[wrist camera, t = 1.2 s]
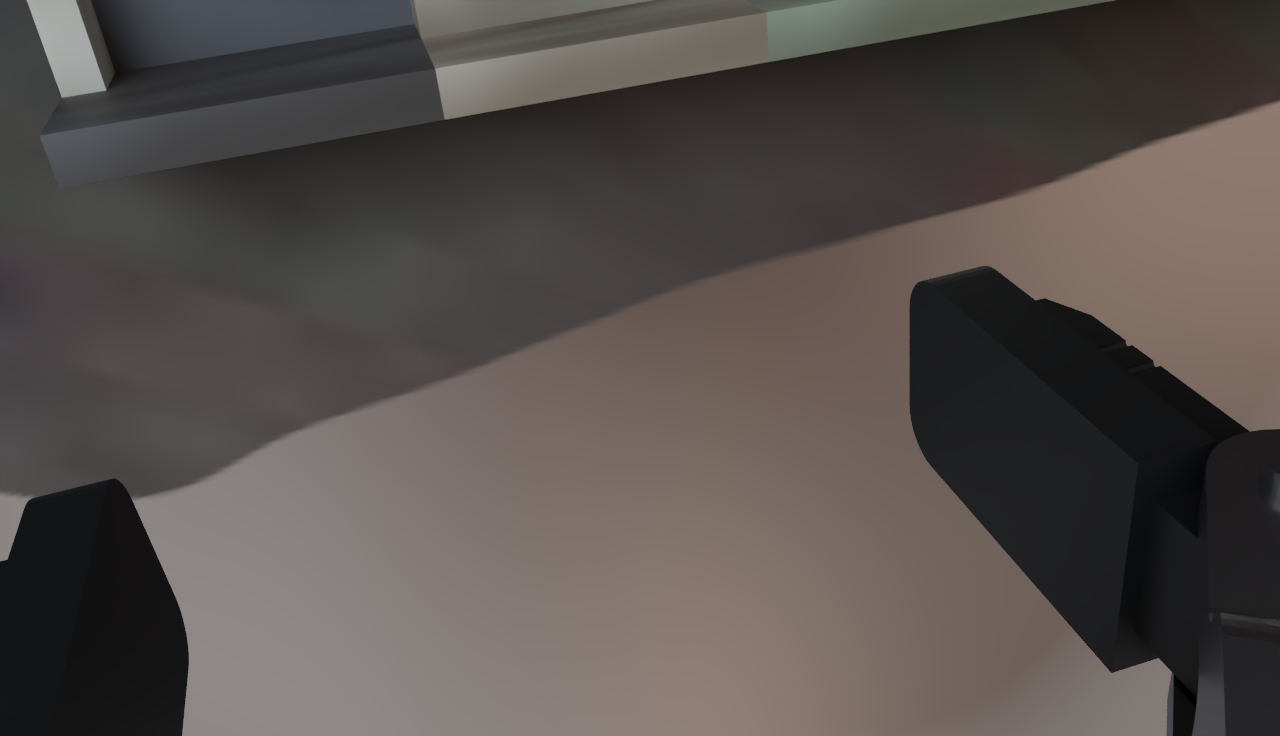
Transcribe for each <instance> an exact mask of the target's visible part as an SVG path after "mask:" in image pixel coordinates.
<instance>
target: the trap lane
mask: <svg viewBox="0 0 1280 736" xmlns="http://www.w3.org/2000/svg"><path fill="white" fill-rule="evenodd" d="M1108 1H1114V0H27V2H28V5H29V8H30V10H31V13H32V16H33V19H34V21H35V24H36V27H37V30H38V32H39V35H40V38H41V41H42V44H43V46H44V49H45V52H46V55H47V57H48V60H49V63H50V66H51V69H52V71H53V74H54V77H55V80H56V82H57V85H58V88H59V91H60V93H61V96H62V99H61V100H60V102H59V104H58V105H57V107H56V109H55V111H54V112H53V114H52V116H51V117H50V119H49V121H48V122H47V124H46V126H45V127H44V129H43V131H42V132H41V134H40V138H41V141H42V144H43V146H44V149H45V151H46V154H47V157H48V159H49V162H50V165H51V167H52V170H53V173H54V175H55V178H56V181H57V183H58V186H59V188H64V187H70V186H76V185H81V184H87V183H93V182H98V181H104V180H109V179H115V178H121V177H126V176H132V175H137V174H143V173H149V172H154V171H160V170H166V169H171V168H177V167H182V166H188V165H194V164H199V163H205V162H210V161H216V160H222V159H227V158H233V157H238V156H244V155H250V154H255V153H261V152H267V151H272V150H278V149H283V148H289V147H295V146H300V145H306V144H311V143H317V142H323V141H328V140H334V139H340V138H345V137H351V136H356V135H362V134H368V133H373V132H379V131H384V130H390V129H396V128H401V127H407V126H412V125H418V124H424V123H429V122H435V121H441V120H446V119H452V118H457V117H463V116H469V115H474V114H480V113H485V112H491V111H497V110H502V109H508V108H514V107H519V106H525V105H530V104H536V103H542V102H547V101H553V100H558V99H564V98H570V97H575V96H581V95H586V94H592V93H598V92H603V91H609V90H615V89H620V88H626V87H631V86H637V85H643V84H648V83H654V82H659V81H665V80H671V79H676V78H682V77H688V76H693V75H699V74H704V73H710V72H716V71H721V70H727V69H732V68H738V67H744V66H749V65H755V64H760V63H766V62H772V61H777V60H783V59H789V58H794V57H800V56H805V55H811V54H817V53H822V52H828V51H833V50H839V49H845V48H850V47H856V46H861V45H867V44H873V43H878V42H884V41H890V40H895V39H901V38H906V37H912V36H918V35H923V34H929V33H934V32H940V31H946V30H951V29H957V28H963V27H968V26H974V25H979V24H985V23H991V22H996V21H1002V20H1007V19H1013V18H1019V17H1024V16H1030V15H1035V14H1041V13H1047V12H1052V11H1058V10H1064V9H1069V8H1075V7H1080V6H1086V5H1092V4H1097V3H1103V2H1108Z"/></svg>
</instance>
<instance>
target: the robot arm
mask: <svg viewBox="0 0 1280 736" xmlns="http://www.w3.org/2000/svg"><path fill="white" fill-rule="evenodd" d="M910 414H911V421H912V426H913V430H914V433H915V436H916V439H917V442H918V444H919V447H920V449H921V451H922V453H923V455H924V457H925V458H926V460H927V461H928V463H929V464H930V465H931V466H932V468H933V469H934V470H935V471H936V472H937V473H938V474H939V476H940V477H941V478H942V479H943V480H944V481H945V482H946V484H947V485H948V486H949V487H950V488H951V489H952V490H953V492H954V493H955V494H956V495H957V496H958V497H959V499H960V500H961V501H962V502H963V503H964V504H965V505H966V506H967V508H968V509H969V510H970V511H971V512H972V513H973V514H974V516H975V517H976V518H977V519H978V520H979V521H980V522H981V524H982V525H983V526H984V527H985V528H986V530H987V531H988V532H989V533H990V534H991V535H992V536H993V538H994V539H995V540H996V541H997V542H998V543H999V544H1000V545H1001V547H1002V548H1003V549H1004V550H1005V551H1006V552H1007V554H1008V555H1009V556H1010V557H1011V558H1012V559H1013V560H1014V562H1015V563H1016V564H1017V565H1018V566H1019V567H1020V568H1021V570H1022V571H1023V572H1024V573H1025V574H1026V575H1027V577H1028V578H1029V579H1030V580H1031V581H1032V582H1033V583H1034V585H1035V586H1036V587H1037V588H1038V589H1039V590H1040V591H1041V593H1042V594H1043V595H1044V596H1045V597H1046V598H1047V599H1048V601H1049V602H1050V603H1051V604H1052V605H1053V606H1054V608H1055V609H1056V610H1057V611H1058V612H1059V613H1060V614H1061V615H1062V617H1063V618H1064V619H1065V620H1066V621H1067V622H1068V624H1069V625H1070V626H1071V627H1072V628H1073V629H1074V630H1075V632H1076V633H1077V634H1078V635H1079V636H1080V637H1081V638H1082V639H1083V641H1084V642H1085V643H1086V644H1087V645H1088V647H1089V648H1090V649H1091V650H1092V651H1093V652H1094V653H1095V655H1096V656H1097V657H1098V658H1099V659H1100V660H1101V661H1102V663H1103V664H1104V665H1105V666H1106V667H1107V668H1108V669H1109V671H1110V672H1111V673H1113V672H1116V671H1119V670H1122V669H1125V668H1128V667H1131V666H1134V665H1137V664H1141V663H1144V662H1147V661H1150V660H1153V659H1157V658H1159V659H1160V660H1161V661H1162V662H1163V663H1164V664H1165V665H1166V666H1167V667H1168V668H1169V669H1170V670H1171V671H1172V675H1171V681H1170V687H1169V693H1168V700H1167V736H1280V429H1274V430H1273V429H1272V430H1259V431H1251V432H1250V431H1248V430H1247V429H1246V428H1244V427H1243V426H1242V425H1240V424H1239V423H1237V422H1236V421H1235V420H1233V419H1232V418H1230V417H1229V416H1228V415H1227V414H1225V413H1224V412H1222V411H1221V410H1220V409H1218V408H1217V407H1216V406H1214V405H1213V404H1211V403H1210V402H1209V401H1207V400H1206V399H1205V398H1203V397H1202V396H1201V395H1199V394H1198V393H1197V392H1195V391H1194V390H1192V389H1191V388H1189V387H1188V386H1187V385H1186V384H1184V383H1183V382H1182V381H1180V380H1179V379H1178V378H1176V377H1175V376H1173V375H1172V374H1171V373H1169V372H1168V371H1167V370H1165V369H1164V368H1163V367H1161V366H1159V367H1155V366H1154V364H1153V360H1151V359H1150V358H1149V357H1148V356H1146V355H1145V354H1143V353H1142V352H1141V351H1139V350H1138V349H1137V348H1135V347H1134V346H1132V345H1131V346H1127V345H1126V342H1125V340H1124V339H1123V338H1121V337H1120V336H1119V335H1118V334H1116V333H1115V332H1114V331H1112V330H1111V329H1109V328H1108V327H1107V326H1105V325H1104V324H1102V323H1101V322H1100V321H1098V320H1097V319H1096V318H1094V317H1093V316H1092V315H1089V314H1086V313H1083V312H1081V311H1078V310H1075V309H1072V308H1069V307H1067V306H1064V305H1061V304H1059V303H1056V302H1053V301H1050V300H1048V299H1045V298H1044V299H1040V300H1036V301H1035V300H1034V299H1033V298H1031V297H1030V296H1029V295H1028V294H1026V293H1025V292H1024V291H1022V290H1021V289H1020V288H1018V287H1017V286H1016V285H1014V284H1013V283H1012V282H1010V281H1009V280H1008V279H1007V278H1005V277H1004V276H1003V275H1002V274H1000V273H999V272H998V271H996V270H995V269H993V268H992V267H989V266H981V267H978V268H973V269H970V270H965V271H961V272H957V273H953V274H949V275H945V276H941V277H937V278H933V279H929V280H925V281H921V282H919V283H917V284H916V285H915V287H914V288H913V290H912V294H911V298H910ZM188 666H189V653H188V643H187V636H186V631H185V626H184V622H183V618H182V614H181V611H180V608H179V606H178V603H177V600H176V598H175V595H174V593H173V591H172V588H171V586H170V584H169V582H168V580H167V577H166V575H165V573H164V571H163V568H162V566H161V564H160V562H159V560H158V558H157V555H156V553H155V551H154V548H153V546H152V544H151V542H150V539H149V537H148V535H147V532H146V530H145V528H144V526H143V523H142V521H141V519H140V517H139V515H138V512H137V510H136V508H135V506H134V503H133V501H132V499H131V497H130V495H129V493H128V491H127V490H126V488H125V487H124V485H123V484H122V483H121V482H120V481H119V480H117V479H109V480H105V481H101V482H97V483H93V484H89V485H85V486H81V487H77V488H73V489H69V490H65V491H61V492H56V493H52V494H48V495H44V496H40V497H36V498H32V499H31V500H29V501H28V502H27V504H26V506H25V508H24V511H23V514H22V517H21V521H20V524H19V527H18V530H17V533H16V536H15V539H14V542H13V545H12V548H11V551H10V554H9V557H8V560H5V561H1V562H0V736H182V729H183V719H184V707H185V698H186V687H187V677H188Z"/></svg>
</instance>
